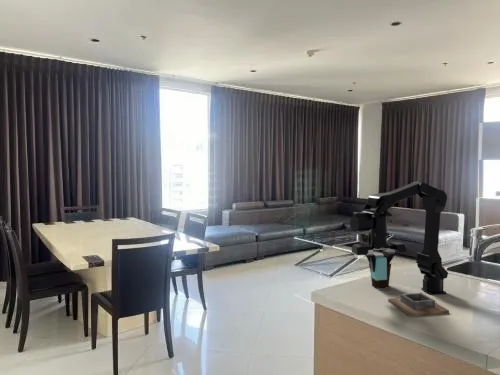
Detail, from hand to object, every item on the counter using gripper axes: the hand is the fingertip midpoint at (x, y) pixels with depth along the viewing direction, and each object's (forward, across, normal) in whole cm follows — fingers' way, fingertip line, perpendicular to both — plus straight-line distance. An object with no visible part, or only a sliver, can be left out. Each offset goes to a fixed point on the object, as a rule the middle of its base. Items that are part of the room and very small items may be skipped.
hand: (379, 271), depth 138 cm
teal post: (+2, 0, 0) cm, 2 cm away
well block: (+11, -10, +9) cm, 17 cm away
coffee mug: (+11, -8, -16) cm, 21 cm away
